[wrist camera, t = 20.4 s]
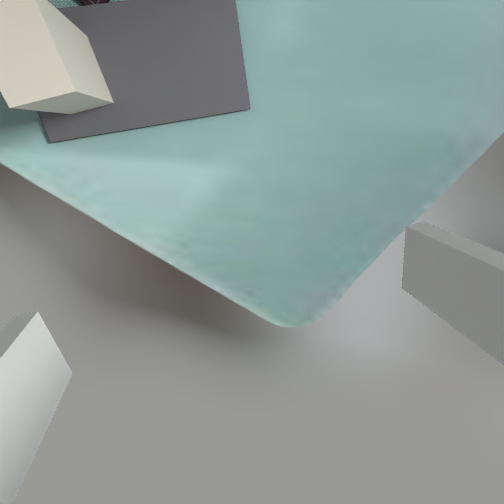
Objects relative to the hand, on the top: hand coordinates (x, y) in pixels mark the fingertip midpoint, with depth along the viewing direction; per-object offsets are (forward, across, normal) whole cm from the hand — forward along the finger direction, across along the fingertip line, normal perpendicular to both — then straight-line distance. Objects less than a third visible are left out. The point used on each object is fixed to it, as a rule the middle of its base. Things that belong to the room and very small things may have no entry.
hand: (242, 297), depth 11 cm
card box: (+28, -10, +12) cm, 32 cm away
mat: (+29, -4, +12) cm, 31 cm away
